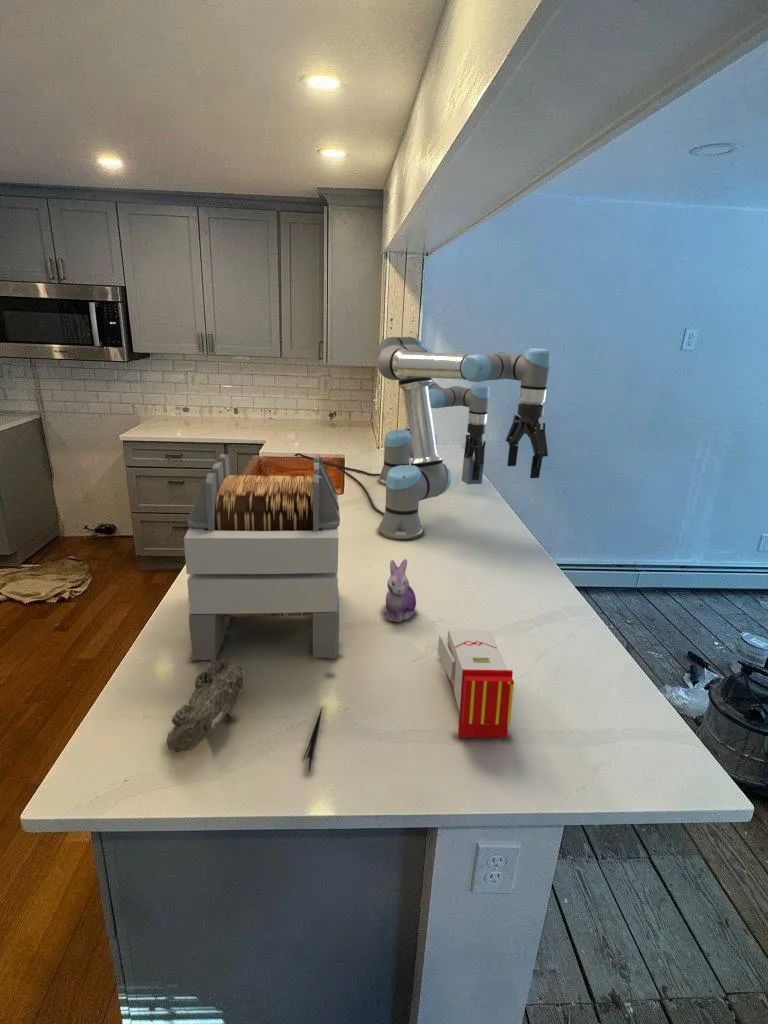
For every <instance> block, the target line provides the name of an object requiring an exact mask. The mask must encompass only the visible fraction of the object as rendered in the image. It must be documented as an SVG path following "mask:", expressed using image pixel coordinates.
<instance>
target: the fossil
mask: <svg viewBox="0 0 768 1024" xmlns="http://www.w3.org/2000/svg"><path fill="white" fill-rule="evenodd" d="M243 670H244V669H243V667H242V665H240V664H237V662H236V661H235V660H234V659H232V658H231V659H227V658H226V659H224V660H223V661H222V660H217V659H215V660H210V663H209V665H208V666H207V671H201V672H199V673H198V674H197V675H196V676H195V680H194V684H195V685H194V687H195V689H194V690H193V693H192V694H191V697H190V698H189V700H188V704H184V705H182V706H181V707H180V709H177V710H176V711H175V713H174V715H173V716H172V718H171V723H172V724H173V727H172V730H171V731H170V732H168V734H167V738H166V741H167V742H166V745H167V749H168V750H169V751H173V752H174V753H176V754H178V753H182V752H188V751H189V752H192V751H193V750H195V748H196V747H197V746H199V744H200V743H201V742H203V741H204V740H205V739H206V738H207V737H208V736H209V735H210V734H211V733H212V732H214V730H215V729H217V727H218V726H219V724H220V722H221V721H222V720H223V719H224V718H225V716H226V717H227V719H229V720H233V717H232V715H230V714H229V710H230V709H231V708H234V706H235V704H236V703H237V702H238V699H239V697H240V695H241V693H242V691H243V690H245V689H244V688H245V675H244V671H243Z"/></svg>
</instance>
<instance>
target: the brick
mask: <svg viewBox="0 0 768 1024" xmlns="http://www.w3.org/2000/svg"><path fill="white" fill-rule="evenodd" d="M462 461H463V462H462V470H461V471H462V472H461V482H463V483H464V484H466V485H469V486H470V485H482V484H483V475H484V465H485V463H484V464H483V465H480V473H479V480H472V476H473V466H474V465H473V464H475V456H473V457H464V456H463V460H462Z"/></svg>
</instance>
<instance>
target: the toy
mask: <svg viewBox="0 0 768 1024" xmlns="http://www.w3.org/2000/svg"><path fill="white" fill-rule="evenodd" d="M446 640H447V643H446V641H445V639H444V636H443V635H442V634H439V637H438V646H437V656H438V657H439V659H440V661H441V663H442V666H443V668H444V670H445V672H446V674H447V677H448V679H449V681H450V684H451V687H452V690H453V693H454V697H455V701H456V705H457V708H458V711H459V714H458V715H459V716H458V730H457V731H458V732H457V737H458V738H508V731H509V726H510V725H511V717H512V707H513V697H514V696H513V695H514V684H515V680H514V679H513V673H514V671H513V670H512V669H508V667H507V665H506V662H505V661H504V659H503V658H502V655H501V653H500V651H499V649H498V647H497V643H496V639H495V637H494V635H493V634H491V632H490V631H489V629H467V628H466V629H465V628H463V629H461V628H460V629H459V628H448V630H447V639H446Z"/></svg>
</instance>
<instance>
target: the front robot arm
mask: <svg viewBox="0 0 768 1024" xmlns="http://www.w3.org/2000/svg"><path fill="white" fill-rule="evenodd" d="M551 357H552V353H551V351H550V350H549V349H546V348H545V349H544V348H526V349H525V350H524V354H518V353H509V352H504V351H501V352H500V351H498V352H497V351H496V352H495V351H494V352H491V353H451V352H433V351H432V349H430V348H429V347H428V346H426V345H424V344H423V345H417V344H414V345H392V346H388V347H386V348H385V349H383V350H382V351H381V353H380V355H379V357H378V356H377V369H378V371H379V373H380V374H381V376H382V377H384V378H385V379H387V380H389V381H398V387H399V388H400V389H403V390H404V393H405V400H406V407H407V414H408V421H409V428H410V435H411V442H412V449H413V456H414V458H412V460H410V463H409V465H404V466H403V465H400V466H396V467H393V468H391V469H390V470H389V471H388V473H387V480H386V485H385V504H384V505H385V507H384V508H385V509H384V511H382V510H380V509H378V508H377V507H376V506H375V505H374V502H373V500H372V498H371V496H370V494H369V491H367V489H366V488H365V486H364V484H362V482H360V480H359V479H358V478H356V477H355V476H353V475H352V474H351V473H349V472H347V471H346V470H345V469H342V468H339V467H336V469H337V470H339V471H340V472H342V473H344V474H346V475H347V476H348V477H350V478H351V479H352V480H354V481H355V482H356V483H357V484H358V485H359V486H360V487H361V488H362V490H363V491H364V493H365V495H366V497H367V499H368V501H369V504H370V505H371V507H372V509H373V510H374V511H375V512H376V513H378V514H380V515H382V519H381V522H379V525H378V533H379V534H380V535H381V536H382V537H385V538H387V539H389V540H395V541H410V540H415V539H418V538H420V537H421V536H422V535H423V525H422V524H421V518H420V515H419V507H420V506H419V505H420V502H421V501H423V500H427V499H430V498H436V497H438V496H440V495H443V494H445V493H446V492H447V491H448V490H449V488H450V486H451V483H452V473H451V470H450V469H449V467H448V466H447V464H445V463H444V461H443V457H441V456H440V455H439V454H438V449H437V446H436V441H435V434H436V433H435V427H434V419H433V412H432V408H431V404H430V397H429V390H428V387H429V385H430V383H431V382H432V380H433V379H444V380H445V379H446V380H461V381H469V382H473V383H481V382H486V381H499V380H511V381H512V380H513V381H519V382H520V388H519V396H518V401H519V403H518V405H517V414H515V415H514V416H513V421H512V423H511V426H510V429H509V431H508V433H507V435H506V437H505V442H506V443H508V446H509V448H508V456H507V464H506V466H507V467H517V460H518V451H519V444H520V443H519V442H520V440H522V438H523V437H524V435H527V437H528V438H529V440H530V443H531V448H532V451H533V455H532V459H531V467H530V474H529V479H539V478H540V475H541V468H542V464H543V458H544V457H548V456H549V451H548V443H547V435H546V422H540V418H542V417H543V416H544V410H545V405H544V403H546V395H547V388H548V381H549V374H550V368H551V359H552V358H551ZM431 379H432V380H431ZM403 390H402V391H403Z"/></svg>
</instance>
